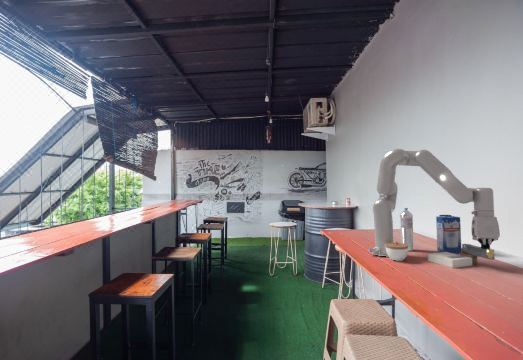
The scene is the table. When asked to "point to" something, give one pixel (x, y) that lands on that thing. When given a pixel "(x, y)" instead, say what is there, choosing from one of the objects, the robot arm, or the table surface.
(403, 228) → the water bottle
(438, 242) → the milk carton
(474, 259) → the jamb block
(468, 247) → the latch bar
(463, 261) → the door panel
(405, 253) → the lidded jar
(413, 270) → the table surface
